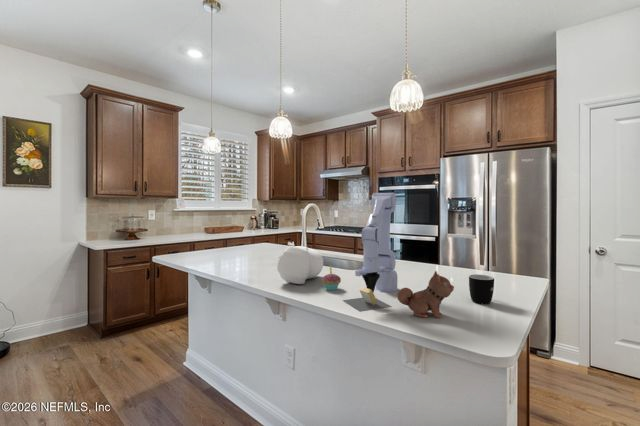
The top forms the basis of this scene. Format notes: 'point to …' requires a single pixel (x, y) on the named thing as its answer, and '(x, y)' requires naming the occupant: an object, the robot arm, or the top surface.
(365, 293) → the card box
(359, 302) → the mat
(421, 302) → the figurine
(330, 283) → the cupcake
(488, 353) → the top surface
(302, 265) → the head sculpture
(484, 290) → the mug
